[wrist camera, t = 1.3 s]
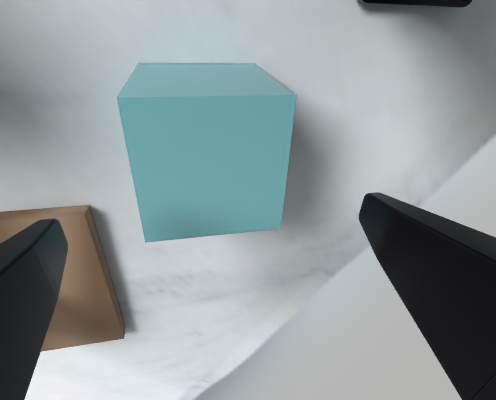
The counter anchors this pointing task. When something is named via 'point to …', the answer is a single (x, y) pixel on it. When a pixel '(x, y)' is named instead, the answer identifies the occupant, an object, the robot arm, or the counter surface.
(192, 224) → the teal cube
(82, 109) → the counter surface
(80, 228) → the base board
